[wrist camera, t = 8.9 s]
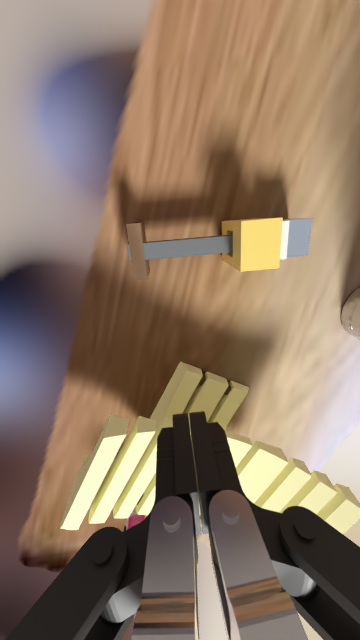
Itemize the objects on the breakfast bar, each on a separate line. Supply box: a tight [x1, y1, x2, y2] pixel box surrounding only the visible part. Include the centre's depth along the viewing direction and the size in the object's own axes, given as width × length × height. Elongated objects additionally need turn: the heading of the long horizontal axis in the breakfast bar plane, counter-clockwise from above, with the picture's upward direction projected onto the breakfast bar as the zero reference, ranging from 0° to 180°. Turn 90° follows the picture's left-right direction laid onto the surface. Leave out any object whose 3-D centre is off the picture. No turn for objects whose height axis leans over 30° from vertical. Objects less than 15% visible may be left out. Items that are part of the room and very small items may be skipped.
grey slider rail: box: [127, 234, 233, 261], centre depth 28 cm, size 20×2×2 cm, turn 94°
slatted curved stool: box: [60, 361, 360, 534], centre depth 35 cm, size 30×16×18 cm, turn 65°
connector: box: [283, 218, 312, 257], centre depth 30 cm, size 3×4×6 cm
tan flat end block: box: [126, 223, 150, 280], centre depth 30 cm, size 2×6×6 cm, turn 4°
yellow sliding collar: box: [222, 218, 283, 271], centre depth 28 cm, size 4×5×8 cm
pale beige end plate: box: [280, 221, 290, 260], centre depth 29 cm, size 1×4×4 cm, turn 4°
